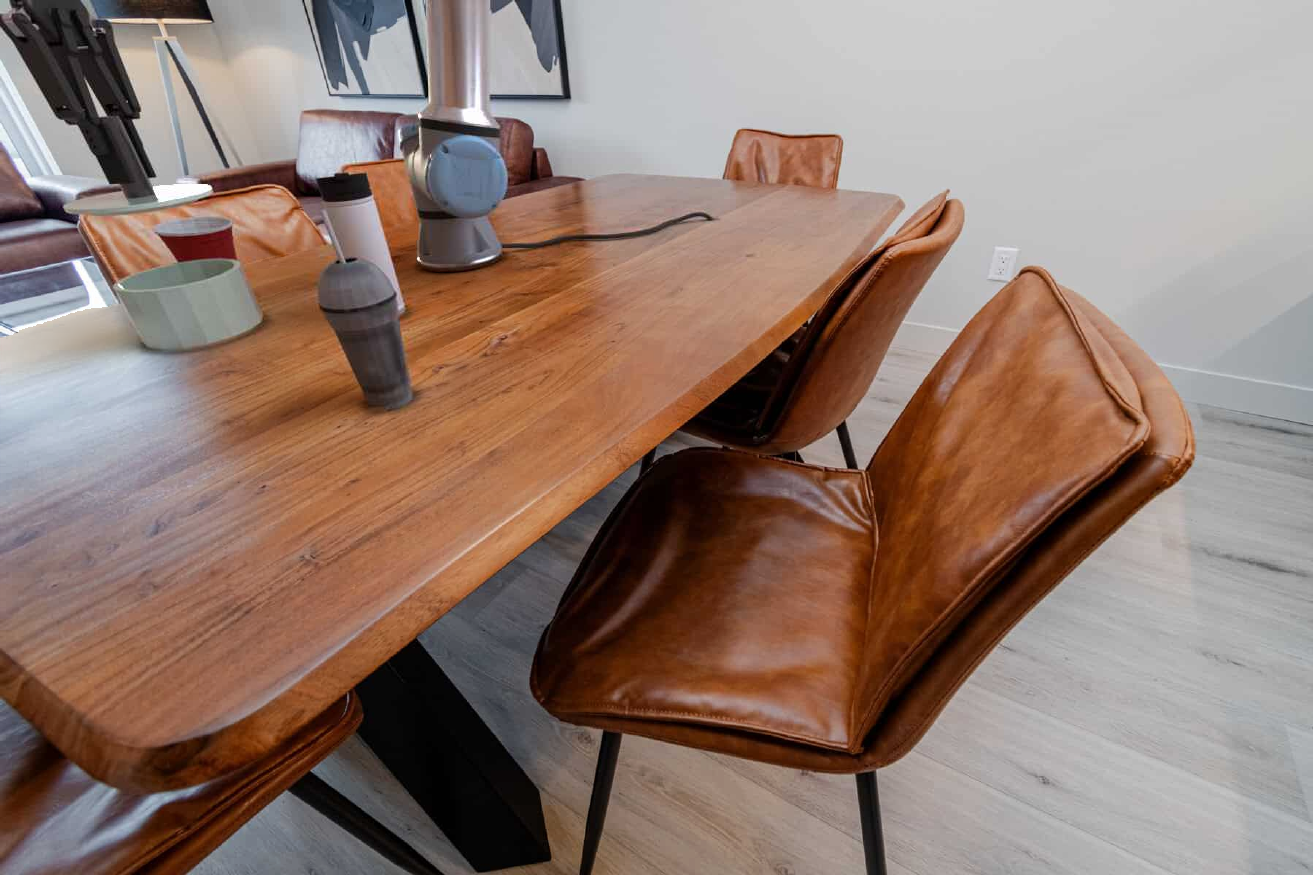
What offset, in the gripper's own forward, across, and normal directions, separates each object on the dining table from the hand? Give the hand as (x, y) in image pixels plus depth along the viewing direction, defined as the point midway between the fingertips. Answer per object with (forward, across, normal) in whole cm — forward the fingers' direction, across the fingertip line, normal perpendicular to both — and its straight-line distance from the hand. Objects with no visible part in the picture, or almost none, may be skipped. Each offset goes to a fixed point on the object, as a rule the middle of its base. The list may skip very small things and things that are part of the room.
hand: (133, 180), depth 76 cm
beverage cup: (+21, +25, +35) cm, 48 cm away
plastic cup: (+21, -17, -7) cm, 28 cm away
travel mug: (+21, -2, +25) cm, 33 cm away
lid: (+2, 0, 0) cm, 2 cm away
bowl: (+20, 0, 0) cm, 20 cm away
